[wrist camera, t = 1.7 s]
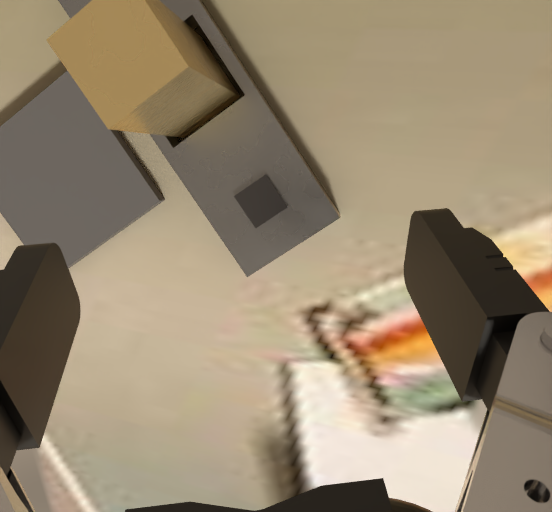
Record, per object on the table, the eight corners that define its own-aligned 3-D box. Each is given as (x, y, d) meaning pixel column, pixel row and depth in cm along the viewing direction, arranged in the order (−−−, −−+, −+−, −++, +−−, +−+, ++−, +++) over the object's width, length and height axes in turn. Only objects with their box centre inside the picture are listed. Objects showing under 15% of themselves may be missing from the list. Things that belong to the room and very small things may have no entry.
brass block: (145, 78, 32) (46, 39, 21) (200, 35, 31) (125, -29, 20) (184, 137, 32) (108, 129, 21) (240, 96, 31) (188, 66, 20)
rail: (39, -43, 31) (16, -58, 29) (123, -119, 29) (106, -142, 27) (252, 269, 33) (246, 278, 31) (339, 213, 32) (340, 218, 30)
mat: (-28, 158, 34) (-39, 159, 33) (76, 72, 32) (68, 69, 31) (57, 276, 35) (49, 279, 34) (164, 199, 33) (159, 201, 32)
